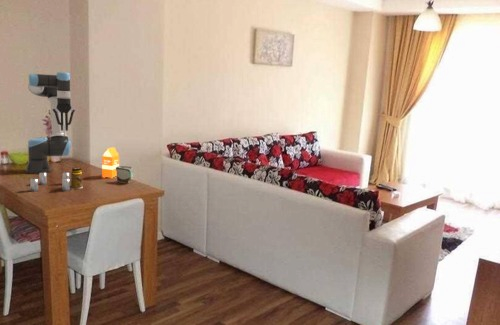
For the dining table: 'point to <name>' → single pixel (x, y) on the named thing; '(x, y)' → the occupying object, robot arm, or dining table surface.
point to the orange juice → (110, 163)
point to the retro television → (123, 174)
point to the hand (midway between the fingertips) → (64, 135)
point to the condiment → (76, 178)
